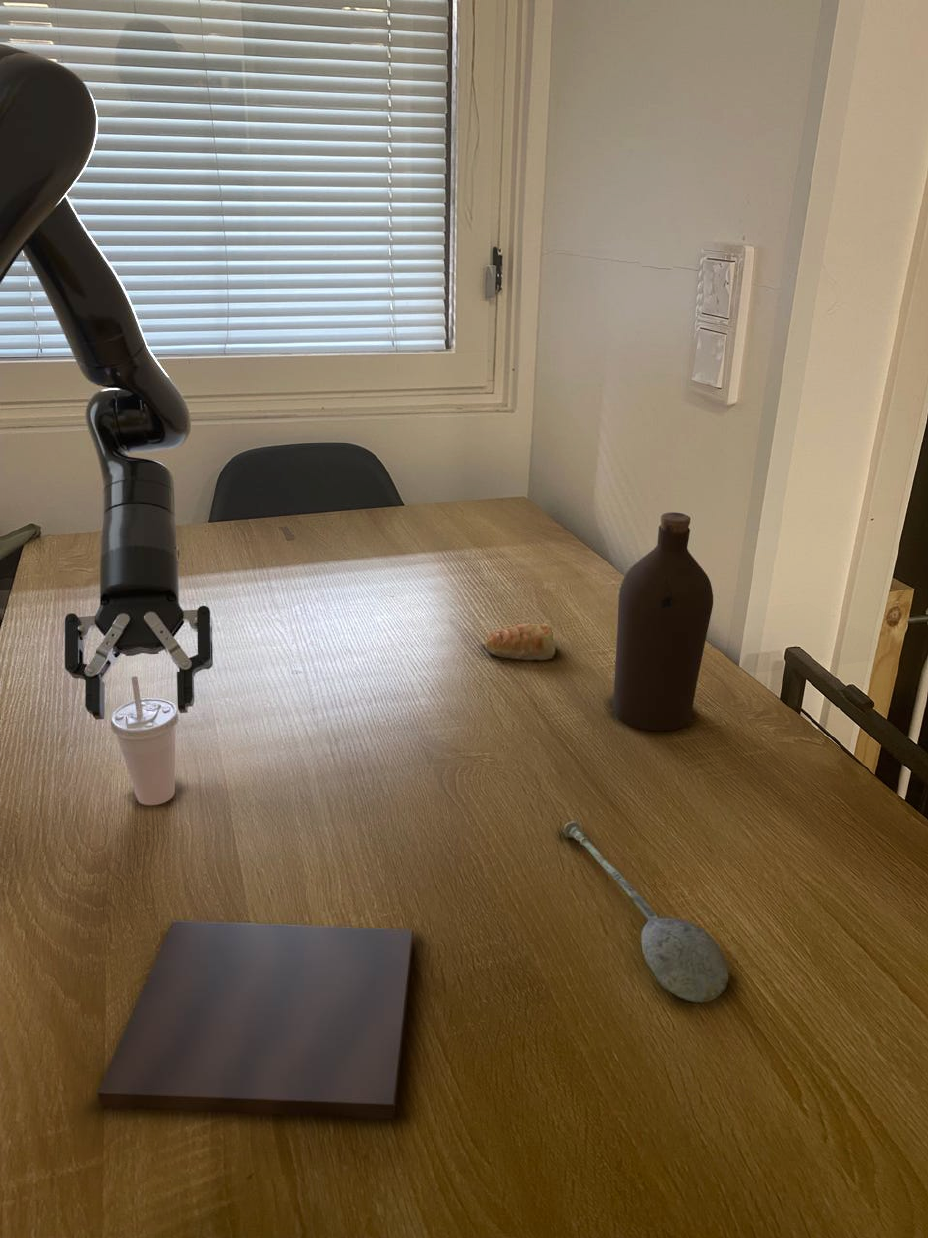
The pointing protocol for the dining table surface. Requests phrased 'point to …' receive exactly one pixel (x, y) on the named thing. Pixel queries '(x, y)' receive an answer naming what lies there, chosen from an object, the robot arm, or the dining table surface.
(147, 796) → the smoothie
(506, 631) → the pastry
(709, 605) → the olive oil
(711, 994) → the soupspoon
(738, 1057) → the dining table surface
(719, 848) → the dining table surface
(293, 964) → the board
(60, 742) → the dining table surface
